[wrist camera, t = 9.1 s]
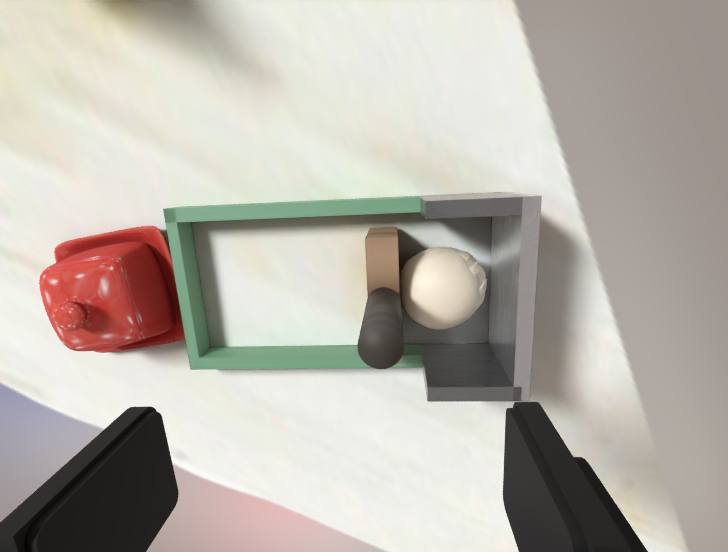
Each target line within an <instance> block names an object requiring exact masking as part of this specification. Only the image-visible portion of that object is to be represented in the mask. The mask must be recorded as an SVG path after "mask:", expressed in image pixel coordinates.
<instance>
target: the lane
mask: <svg viewBox="0 0 728 552" xmlns="http://www.w3.org/2000/svg"><path fill="white" fill-rule="evenodd" d="M163 210H164V216H165V222H166V228H167V234H168V240H169V246H170V252H171V257H172V263H173V269H174V275H175V281H176V287H177V293H178V299H179V304H180V310H181V316H182V322H183V328H184V334H185V340H186V346H187V351H188V357H189V363H190V369H191V370H194V369H297V368H373V367H370V366H368V365H367V364H366V363H364V362H363V360H362V359H361V358H360V356H359V353H358V345H330V346H262V347H210V342H209V336H208V329H207V323H206V316H205V310H204V303H203V297H202V290H201V284H200V278H199V271H198V265H197V258H196V252H195V245H194V239H193V232H192V226H191V222H199V221H222V220H246V219H269V218H293V217H316V216H340V215H363V214H387V213H411V212H420V197H419V196H407V197H385V198H363V199H341V200H320V201H298V202H276V203H254V204H233V205H211V206H189V207H174V208H167V209H163ZM400 367H422V351H421V344H404V351H403V355H402V357H401V364H395V365H394V366H392V367H390V368H400Z"/></svg>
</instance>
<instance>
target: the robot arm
mask: <svg viewBox="0 0 728 552" xmlns="http://www.w3.org/2000/svg"><path fill="white" fill-rule="evenodd" d="M177 500H178V488H177V483H176V479H175V474H174V470H173V465H172V461H171V456H170V452H169V447H168V443H167V438H166V434H165V429H164V424H163V420H162V416H161V414H160V413H158V412H156V410H155V408H153V407H130V408H129V409H127V410H126V411H125V412H124V413H122V414H121V415H120V416H119V417H118V418H117V419H116V420H115V421H114V422H112V423H111V424H110V425H109V426H108V427H107V428H106V429H105V430H103V431H102V432H101V433H100V434H99V435H98V436H97V437H96V438H95V439H93V440H92V441H91V442H90V443H89V444H88V445H87V446H85V447H84V448H83V449H82V450H81V451H80V452H79V453H78V454H77V455H76V456H74V457H73V458H72V459H71V460H70V461H69V462H68V463H67V464H65V465H64V466H63V467H62V468H61V469H60V470H59V471H57V472H56V473H55V474H54V475H53V476H52V477H51V478H50V479H49V480H47V481H46V482H45V483H44V484H43V485H42V486H41V487H40V488H38V489H37V490H36V491H35V492H34V493H33V494H32V495H31V496H29V498H27V499H26V500H25V501H24V502H23V503H22V504H20V505H19V506H18V507H17V508H16V509H15V510H14V511H13V512H12V513H11V514H9V515H8V516H7V517H6V518H5V519H4V520H3V521H2V522H0V552H146V551H147V549H148V547H149V546H150V545H151V543H152V541H153V540H154V538H155V537H156V535H157V534H158V532H159V531H160V529H161V528H162V526H163V524H164V523H165V521H166V520H167V518H168V517H169V515H170V514H171V512H172V511H173V509H174V508H175V506H176V503H177ZM503 500H504V506H505V510H506V513H507V516H508V519H509V522H510V525H511V528H512V531H513V535H514V538H515V541H516V544H517V547H518V550H519V552H648V551H647V550H646V548H645V547H644V545H643V544H642V542H641V541H640V539H639V538H638V536H637V535H636V533H635V532H634V530H633V529H632V527H631V526H630V524H629V523H628V521H627V520H626V519H625V517H624V516H623V514H622V513H621V511H620V510H619V508H618V507H617V505H616V504H615V502H614V501H613V499H612V498H611V496H610V495H609V493H608V492H607V490H606V489H605V487H604V486H603V484H602V483H601V481H600V480H599V478H598V477H597V475H596V474H595V472H594V471H593V469H592V468H591V466H590V465H589V463H588V462H587V461H586V460H585V459H583V458H582V457H573V456H572V454H571V453H570V451H569V449H568V448H567V446H566V445H565V443H564V441H563V440H562V438H561V437H560V435H559V434H558V432H557V430H556V429H555V427H554V426H553V424H552V422H551V421H550V419H549V418H548V416H547V415H546V413H545V411H544V410H543V408H542V407H541V405H540V404H539V403H538V402H515V403H514V405H513V408H507V410H506V425H505V453H504V481H503Z"/></svg>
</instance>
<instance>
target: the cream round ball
mask: <svg viewBox="0 0 728 552" xmlns="http://www.w3.org/2000/svg"><path fill="white" fill-rule="evenodd" d="M486 288H487V279H486V274H485V270H484V268H483V267H482V266H481V265H480V263H479V262H478V261H477V260H476V259H475V258H474V257H473V256H472V255H471V254H470V253H468V252H464V251H460V250H457V249H454V248H449V247H435V248H430V249H427V250H424V251H422V252H420V253H418V254H416V255H415V256H414V257H412V258H411V259H410V260H408V261H407V262H406V264H405V265H404V267H403V269H402V271H401V273H400V278H399V294H400V299H401V302H402V304H403V306H404V308H405V310H406V312H407V313H408V314H409V316H410V317H411V318H412V319H413V320H414V321H416V322H417V323H419V324H420V325H422V326H425V327H427V328H431V329H437V330H443V329H449V328H453V327H455V326H458V325H460V324H462V323H464V322H465V321H466V320H468V319H469V318H470V317H471V316H472V315H473V314H474V313H475V311H476V310H477V309H478V308H479V307H480V305H481V304H482V303H483V300H484V297H485V290H486Z"/></svg>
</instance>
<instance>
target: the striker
mask: <svg viewBox="0 0 728 552" xmlns="http://www.w3.org/2000/svg"><path fill="white" fill-rule="evenodd" d="M365 248H366V269H367V289H368V299H367V303H366V308H365V313H364V317H363V322H362V326H361V331H360V336H359V340H358V353H359V356H360V358H361V359H362V360H363V362H364V363H366V364H367V365H368V366H370V367H373V368H376V369H386V368H390V367H392V366H394V365H395V364H401V357H402V355H403V351H404V343H403V326H402V310H401V299H400V294H399V257H398V232H397V227H386V228H370V230H369V232H368V234H367V236H366V238H365Z"/></svg>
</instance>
